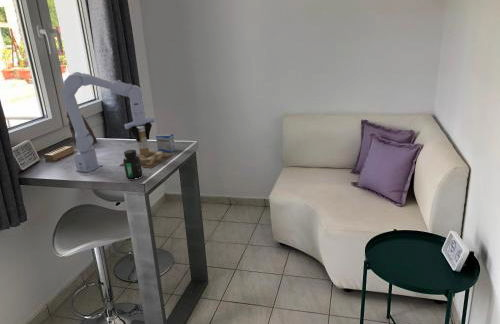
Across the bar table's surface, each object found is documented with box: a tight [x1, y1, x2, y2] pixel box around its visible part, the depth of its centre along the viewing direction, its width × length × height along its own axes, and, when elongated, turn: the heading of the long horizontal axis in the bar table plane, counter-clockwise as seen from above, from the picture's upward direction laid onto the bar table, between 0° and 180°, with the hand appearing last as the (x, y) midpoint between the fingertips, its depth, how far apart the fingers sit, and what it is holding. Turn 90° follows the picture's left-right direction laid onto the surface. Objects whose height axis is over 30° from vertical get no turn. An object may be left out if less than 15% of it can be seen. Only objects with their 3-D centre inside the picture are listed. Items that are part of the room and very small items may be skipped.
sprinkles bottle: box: [136, 125, 150, 155], centre depth 189 cm, size 5×5×13 cm
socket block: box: [119, 150, 173, 169], centre depth 192 cm, size 18×18×3 cm
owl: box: [66, 110, 98, 147], centre depth 225 cm, size 13×13×20 cm
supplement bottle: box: [122, 149, 144, 180], centre depth 170 cm, size 7×7×12 cm
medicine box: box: [155, 133, 176, 153], centre depth 203 cm, size 8×4×9 cm, turn 76°
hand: (142, 140), depth 188 cm, fingers closed on sprinkles bottle, 4 cm apart
